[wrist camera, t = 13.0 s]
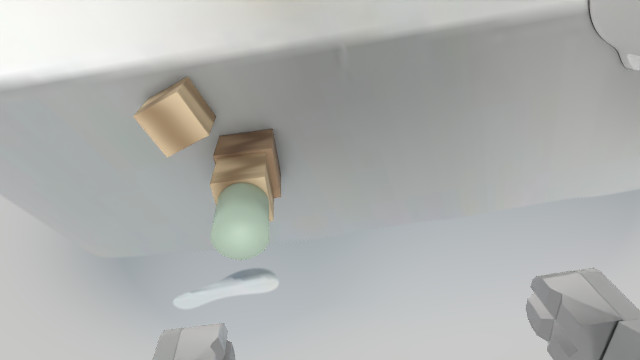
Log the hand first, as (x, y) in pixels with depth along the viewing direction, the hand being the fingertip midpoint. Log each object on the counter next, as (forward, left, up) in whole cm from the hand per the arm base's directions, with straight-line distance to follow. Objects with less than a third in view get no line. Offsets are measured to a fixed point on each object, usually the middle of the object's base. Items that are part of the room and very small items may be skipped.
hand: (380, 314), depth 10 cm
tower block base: (+8, +12, -34) cm, 37 cm away
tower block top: (+8, +12, -29) cm, 32 cm away
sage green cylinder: (+8, +12, -24) cm, 28 cm away
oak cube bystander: (+14, +5, -34) cm, 37 cm away
